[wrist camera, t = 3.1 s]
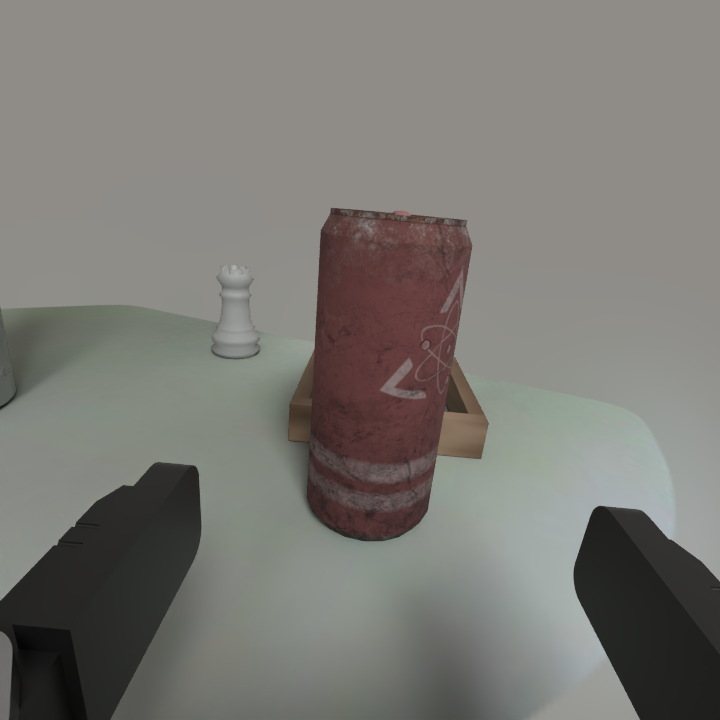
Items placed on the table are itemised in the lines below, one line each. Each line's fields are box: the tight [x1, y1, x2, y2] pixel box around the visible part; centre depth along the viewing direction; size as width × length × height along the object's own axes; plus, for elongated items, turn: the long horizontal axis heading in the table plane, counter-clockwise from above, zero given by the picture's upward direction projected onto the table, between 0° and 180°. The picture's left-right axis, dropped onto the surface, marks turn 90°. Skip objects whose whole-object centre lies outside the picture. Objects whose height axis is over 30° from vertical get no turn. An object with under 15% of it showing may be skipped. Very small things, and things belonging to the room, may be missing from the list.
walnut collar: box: [289, 349, 489, 459], centre depth 32 cm, size 12×12×2 cm
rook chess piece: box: [212, 265, 260, 359], centre depth 39 cm, size 4×4×8 cm
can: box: [307, 208, 472, 541], centre depth 19 cm, size 6×6×14 cm
